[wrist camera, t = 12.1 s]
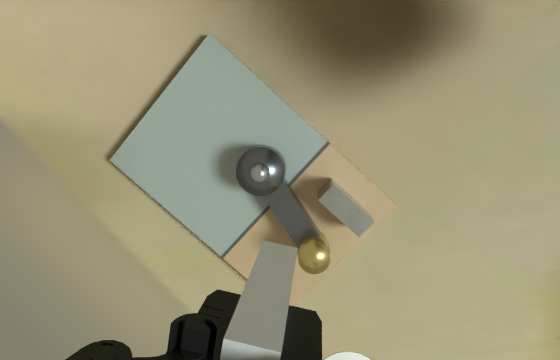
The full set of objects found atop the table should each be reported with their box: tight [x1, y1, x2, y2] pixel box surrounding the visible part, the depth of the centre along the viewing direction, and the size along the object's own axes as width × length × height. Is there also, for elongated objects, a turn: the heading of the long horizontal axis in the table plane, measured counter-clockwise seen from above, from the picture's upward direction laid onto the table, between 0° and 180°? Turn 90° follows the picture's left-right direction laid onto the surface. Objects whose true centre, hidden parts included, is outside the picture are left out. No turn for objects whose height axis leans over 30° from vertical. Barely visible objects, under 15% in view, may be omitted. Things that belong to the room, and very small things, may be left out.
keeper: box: [317, 178, 375, 237], centre depth 33 cm, size 2×5×3 cm, turn 48°
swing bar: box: [236, 145, 330, 274], centre depth 33 cm, size 13×4×4 cm, turn 33°
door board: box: [110, 33, 397, 306], centre depth 36 cm, size 16×24×1 cm, turn 48°
